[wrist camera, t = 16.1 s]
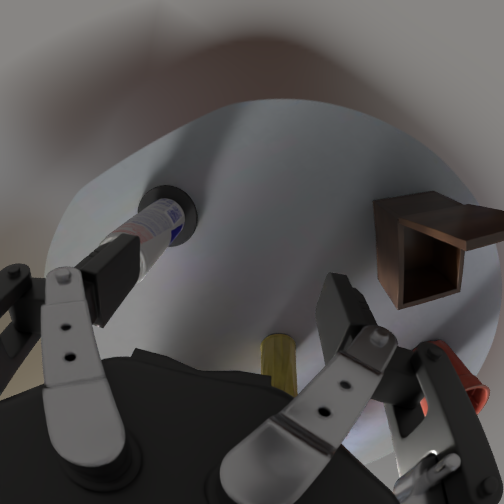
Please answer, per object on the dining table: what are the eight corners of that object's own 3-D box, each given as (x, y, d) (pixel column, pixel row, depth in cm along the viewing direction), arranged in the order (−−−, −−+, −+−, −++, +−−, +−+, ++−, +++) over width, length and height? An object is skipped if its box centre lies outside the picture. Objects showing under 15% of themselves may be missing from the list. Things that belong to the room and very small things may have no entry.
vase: (287, 328, 47) (292, 394, 34) (301, 352, 49) (308, 417, 36) (254, 340, 48) (249, 406, 35) (269, 363, 50) (268, 427, 37)
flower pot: (403, 332, 47) (437, 396, 32) (466, 326, 46) (504, 377, 31) (379, 390, 53) (397, 450, 38) (438, 381, 52) (463, 432, 38)
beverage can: (143, 203, 39) (88, 241, 25) (179, 193, 38) (133, 228, 25) (155, 239, 41) (109, 291, 27) (190, 230, 40) (154, 283, 27)
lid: (543, 228, 15) (543, 219, 15) (466, 251, 16) (465, 240, 16) (469, 210, 28) (468, 203, 28) (399, 223, 29) (398, 216, 29)
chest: (433, 265, 41) (460, 292, 33) (377, 279, 43) (397, 310, 34) (434, 190, 36) (466, 206, 28) (372, 200, 38) (397, 219, 30)
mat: (131, 194, 39) (129, 195, 39) (187, 178, 38) (186, 178, 38) (150, 250, 43) (149, 252, 42) (205, 238, 41) (204, 240, 41)
